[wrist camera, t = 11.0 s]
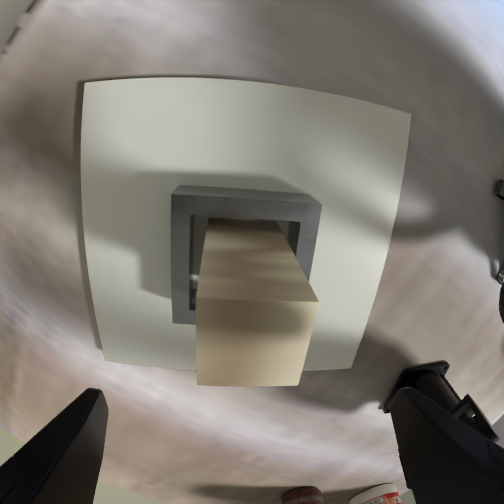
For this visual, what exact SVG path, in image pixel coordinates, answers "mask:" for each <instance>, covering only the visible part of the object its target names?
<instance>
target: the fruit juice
mask: <svg viewBox="0 0 504 504" xmlns="http://www.w3.org/2000/svg"><path fill="white" fill-rule="evenodd" d="M349 504H402V501H401V499H400V496H399V494H398V491H397V489H396V487H395V486H394V485H393V484H383V485H379V486H376V487H373V488H371V489H368V490H366V491H364V492H361V493H360V494H358V495H356V496H354V497H353V498H352V499H351V500H350V502H349Z"/></svg>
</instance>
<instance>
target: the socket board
mask: <svg viewBox="0 0 504 504" xmlns="http://www.w3.org/2000/svg"><path fill="white" fill-rule="evenodd" d="M411 115H412V114H410V113H407V112H404V111H401V110H397V109H394V108H390V107H387V106H383V105H379V104H376V103H372V102H368V101H364V100H360V99H355V98H351V97H347V96H342V95H337V94H333V93H327V92H322V91H317V90H311V89H305V88H299V87H293V86H286V85H279V84H271V83H262V82H253V81H242V80H229V79H213V78H136V79H119V80H107V81H97V82H88V83H85V86H84V97H83V110H82V127H81V198H82V216H83V229H84V240H85V250H86V259H87V267H88V274H89V281H90V288H91V294H92V300H93V306H94V311H95V316H96V321H97V326H98V331H99V336H100V340H101V345H102V349H103V353H104V357H105V361H109V362H117V363H124V364H132V365H141V366H150V367H161V368H172V369H186V370H197V366H196V325H190V324H175V323H173V322H172V299H171V250H170V233H171V194H172V192H173V191H174V190H175V189H176V187H177V186H178V185H188V186H208V187H225V188H240V189H253V190H266V191H278V192H289V193H299V194H309V195H311V196H312V197H313V198H315V199H316V200H317V201H318V202H319V203H321V204H322V209H321V216H320V222H319V228H318V234H317V240H316V246H315V251H314V257H313V262H312V268H311V273H310V278H309V283H310V285H311V287H312V289H313V291H314V293H315V295H316V297H317V299H318V301H319V304H318V309H317V313H316V317H315V322H314V326H313V330H312V334H311V338H310V342H309V346H308V350H307V354H306V358H305V362H304V366H303V370H302V371H320V370H336V369H350V368H351V366H352V364H353V361H354V358H355V356H356V353H357V350H358V347H359V345H360V342H361V339H362V336H363V333H364V330H365V327H366V324H367V321H368V318H369V315H370V312H371V309H372V305H373V302H374V299H375V295H376V292H377V289H378V285H379V282H380V278H381V274H382V271H383V267H384V263H385V259H386V256H387V252H388V248H389V243H390V239H391V235H392V231H393V226H394V222H395V217H396V212H397V207H398V202H399V197H400V192H401V186H402V181H403V175H404V169H405V162H406V156H407V149H408V141H409V133H410V125H411ZM208 218H224V219H241V220H257V221H272V222H277V223H278V225H279V227H280V229H281V231H282V232H283V234H284V236H285V238H286V240H287V236H288V229H289V222H290V221H284V220H270V219H256V218H241V217H225V216H208V215H194V243H193V289H197V287H198V280H199V273H200V267H201V261H202V254H203V248H204V242H205V236H206V230H207V224H208Z"/></svg>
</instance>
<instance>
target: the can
mask: <svg viewBox="0 0 504 504" xmlns="http://www.w3.org/2000/svg"><path fill="white" fill-rule="evenodd" d="M281 499H282V504H324V503H323V499H322V495H321V491H320V490H319V489H317V488H316V487H301V488H297V489H293V490H290V491H288V492H286V493H285V494H284V495H283V496H282V498H281Z"/></svg>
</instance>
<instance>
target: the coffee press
mask: <svg viewBox="0 0 504 504" xmlns="http://www.w3.org/2000/svg"><path fill="white" fill-rule="evenodd" d="M494 194H495V195H496V196H498V197H499V198H501V199H503V200H504V180H502V179H499V181H498V184H497V187H496V189H495V192H494ZM503 279H504V269H502V270H501V271H500V272H499V273H498V275H497V281H498V283H499V284H501V285H502V287H501V290H500V298H499V311H500V316H501V318H502V321H503V323H504V282H503Z"/></svg>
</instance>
